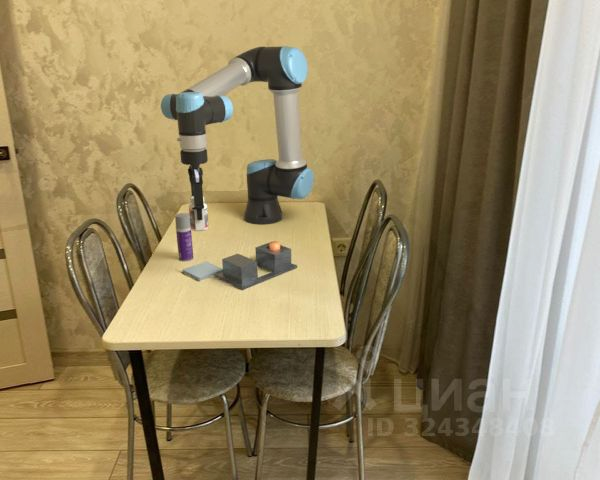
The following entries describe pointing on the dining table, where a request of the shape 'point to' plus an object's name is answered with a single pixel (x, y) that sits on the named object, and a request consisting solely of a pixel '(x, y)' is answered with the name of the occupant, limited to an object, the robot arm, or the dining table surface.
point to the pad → (202, 270)
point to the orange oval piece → (274, 245)
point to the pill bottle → (192, 215)
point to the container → (184, 237)
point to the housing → (255, 266)
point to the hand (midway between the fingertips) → (199, 226)
